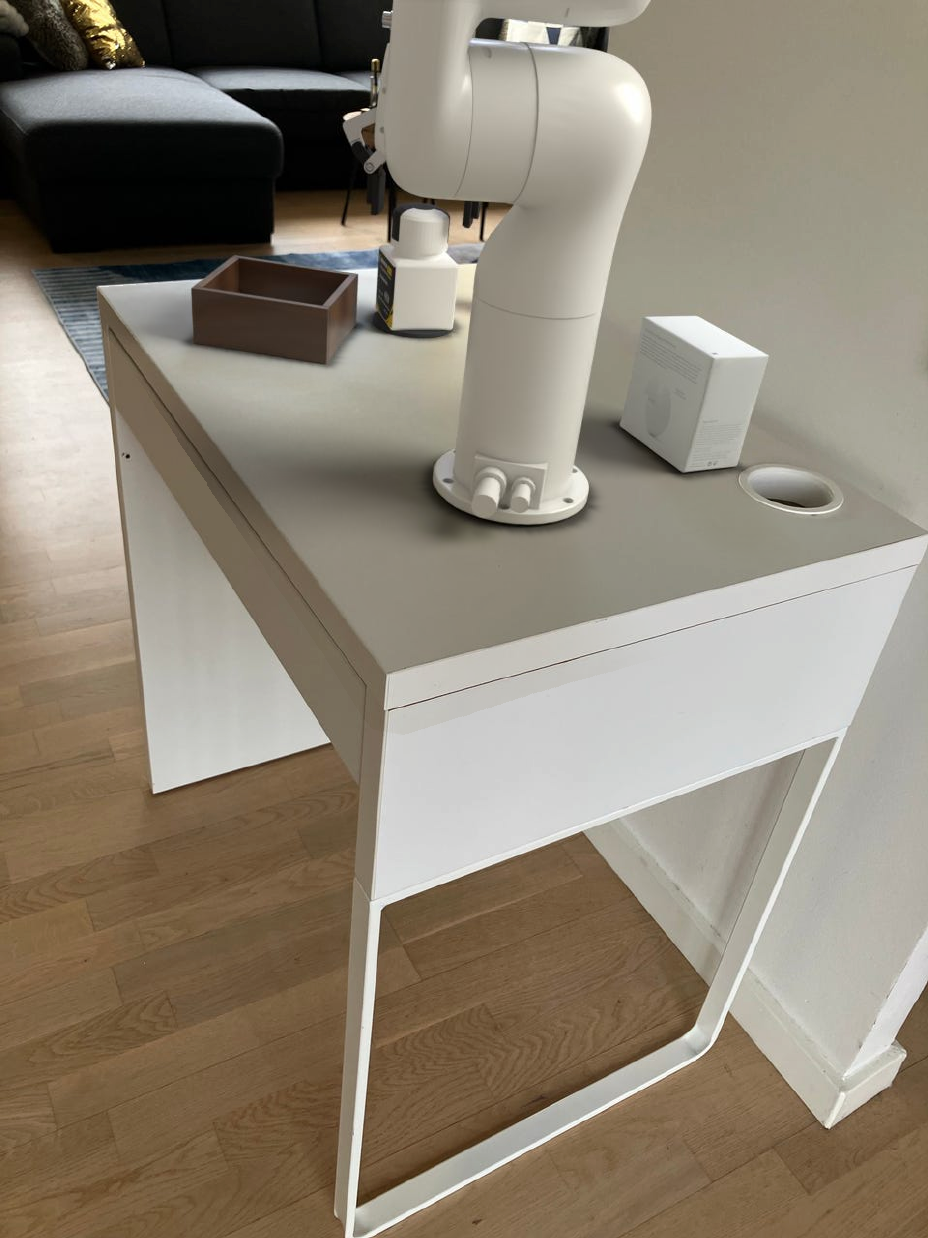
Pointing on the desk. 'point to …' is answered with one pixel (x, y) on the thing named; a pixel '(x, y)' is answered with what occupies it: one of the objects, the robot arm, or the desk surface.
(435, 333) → the coaster
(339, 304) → the desk caddy
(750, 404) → the cosmetics box
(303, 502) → the desk surface
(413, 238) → the medicine bottle
